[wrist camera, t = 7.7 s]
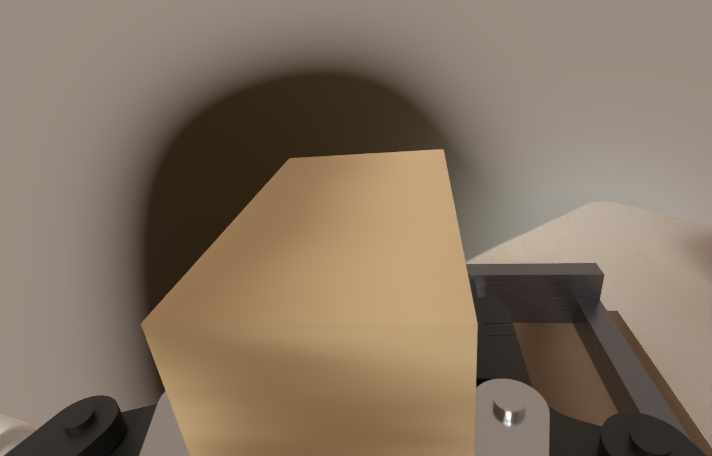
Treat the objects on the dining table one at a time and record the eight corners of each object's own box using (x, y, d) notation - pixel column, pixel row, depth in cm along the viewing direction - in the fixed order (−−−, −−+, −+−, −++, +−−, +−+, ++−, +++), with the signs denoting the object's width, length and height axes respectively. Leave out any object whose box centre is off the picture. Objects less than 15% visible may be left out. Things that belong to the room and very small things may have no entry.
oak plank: (446, 431, 15) (443, 149, 11) (467, 720, 9) (477, 324, 5) (333, 427, 16) (289, 158, 12) (278, 695, 10) (141, 323, 5)
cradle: (613, 327, 32) (627, 262, 30) (737, 522, 20) (776, 436, 18) (435, 325, 34) (434, 264, 32) (445, 501, 22) (446, 422, 20)
